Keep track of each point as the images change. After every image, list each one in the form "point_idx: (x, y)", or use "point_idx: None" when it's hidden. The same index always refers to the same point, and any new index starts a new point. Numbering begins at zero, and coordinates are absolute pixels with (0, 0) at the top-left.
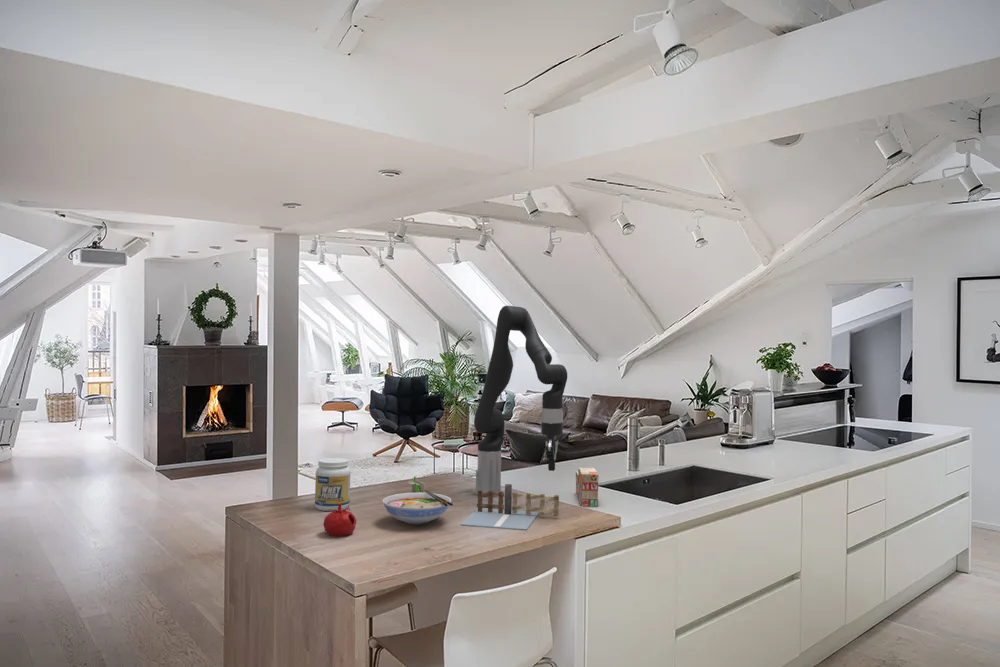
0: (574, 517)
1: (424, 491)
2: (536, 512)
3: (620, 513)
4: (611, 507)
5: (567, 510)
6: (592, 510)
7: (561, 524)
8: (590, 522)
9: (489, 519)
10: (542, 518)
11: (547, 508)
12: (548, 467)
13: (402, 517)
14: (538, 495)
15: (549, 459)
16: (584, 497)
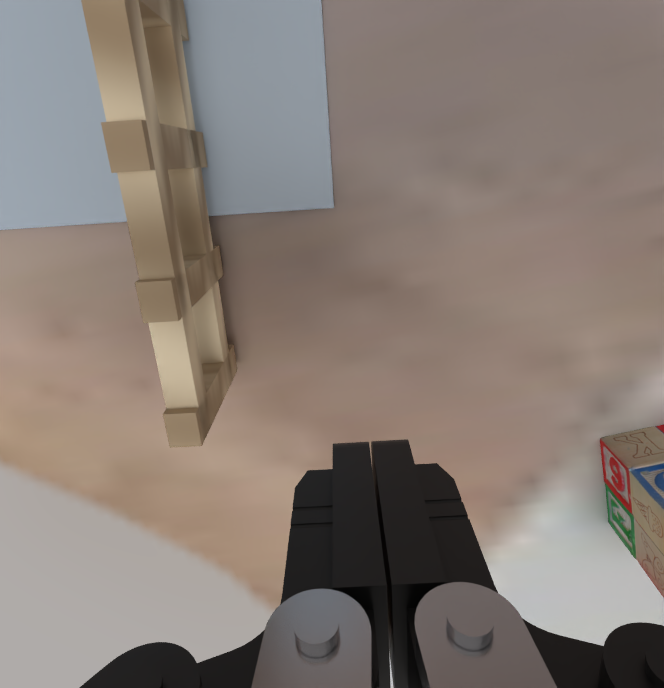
0: (297, 446)
1: None
2: (299, 193)
3: None
4: (606, 586)
5: (466, 378)
6: (506, 510)
7: (99, 407)
8: (221, 534)
9: None
10: None
11: (205, 312)
12: (335, 468)
13: None
14: (150, 259)
15: (252, 649)
16: (635, 494)
